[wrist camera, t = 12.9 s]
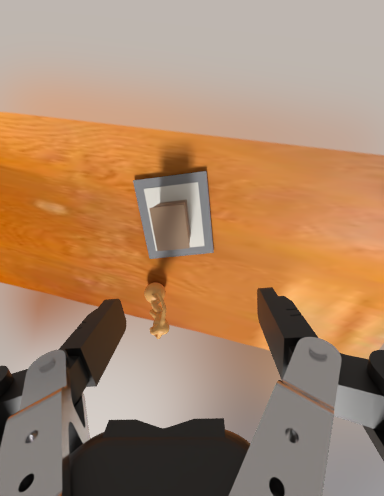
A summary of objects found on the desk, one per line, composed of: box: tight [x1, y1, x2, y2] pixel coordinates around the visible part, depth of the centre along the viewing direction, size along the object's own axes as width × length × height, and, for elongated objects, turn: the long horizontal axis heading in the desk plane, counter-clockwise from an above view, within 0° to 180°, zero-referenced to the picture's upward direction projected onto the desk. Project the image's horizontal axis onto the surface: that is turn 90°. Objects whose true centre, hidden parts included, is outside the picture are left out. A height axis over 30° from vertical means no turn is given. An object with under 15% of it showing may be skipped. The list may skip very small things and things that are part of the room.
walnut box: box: [149, 200, 191, 251], centre depth 30 cm, size 5×6×7 cm
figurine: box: [144, 282, 169, 339], centre depth 34 cm, size 8×6×12 cm
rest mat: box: [133, 171, 214, 259], centre depth 34 cm, size 12×14×1 cm
